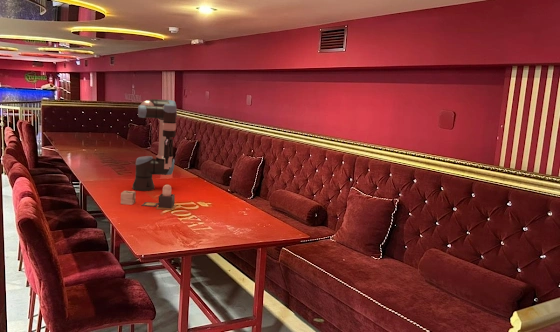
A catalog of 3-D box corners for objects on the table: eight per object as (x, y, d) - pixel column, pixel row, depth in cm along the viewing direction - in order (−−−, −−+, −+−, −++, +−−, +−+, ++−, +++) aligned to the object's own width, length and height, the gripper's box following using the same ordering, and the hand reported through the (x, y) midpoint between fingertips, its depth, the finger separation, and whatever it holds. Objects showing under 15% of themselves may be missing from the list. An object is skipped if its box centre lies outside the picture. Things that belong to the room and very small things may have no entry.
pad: (145, 202, 299) (145, 201, 299) (159, 203, 299) (159, 202, 299) (141, 205, 290) (141, 205, 290) (155, 206, 290) (155, 206, 290)
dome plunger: (163, 198, 292) (164, 183, 290) (171, 199, 292) (172, 183, 290) (161, 200, 287) (161, 184, 285) (169, 201, 287) (170, 185, 285)
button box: (160, 205, 295) (160, 193, 294) (176, 206, 295) (176, 194, 294) (156, 209, 285) (156, 196, 284) (172, 210, 285) (173, 197, 284)
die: (124, 201, 297) (124, 190, 296) (135, 202, 298) (135, 191, 296) (120, 204, 291) (120, 192, 289) (131, 204, 291) (132, 193, 290)
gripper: (166, 128, 292) (165, 165, 295) (159, 130, 273) (157, 170, 277) (178, 129, 292) (177, 166, 295) (172, 131, 273) (170, 171, 277)
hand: (167, 167), depth 286 cm, fingers open, 6 cm apart
